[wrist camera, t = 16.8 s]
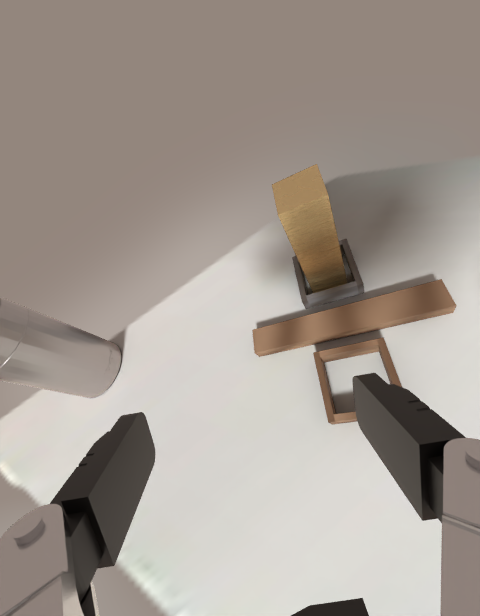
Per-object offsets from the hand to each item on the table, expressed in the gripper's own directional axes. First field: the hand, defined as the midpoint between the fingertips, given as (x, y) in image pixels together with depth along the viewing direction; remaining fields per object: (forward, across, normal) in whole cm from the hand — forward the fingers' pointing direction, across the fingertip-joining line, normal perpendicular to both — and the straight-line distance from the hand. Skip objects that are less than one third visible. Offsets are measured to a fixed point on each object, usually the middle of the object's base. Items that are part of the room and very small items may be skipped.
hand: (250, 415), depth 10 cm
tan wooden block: (+24, -11, -1) cm, 26 cm away
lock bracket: (+19, -10, +4) cm, 22 cm away
